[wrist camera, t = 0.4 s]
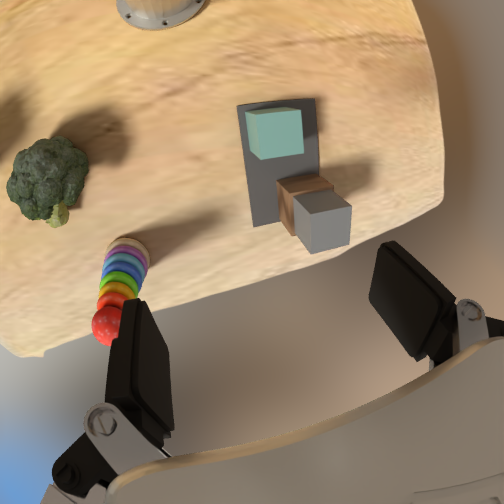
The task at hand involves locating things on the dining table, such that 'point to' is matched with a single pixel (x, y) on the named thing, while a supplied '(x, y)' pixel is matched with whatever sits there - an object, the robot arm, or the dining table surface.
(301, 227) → the tower mid
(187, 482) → the robot arm
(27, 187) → the vegetable
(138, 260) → the stacking toy
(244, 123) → the mat
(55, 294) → the dining table surface
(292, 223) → the tower base
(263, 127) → the teal cube
